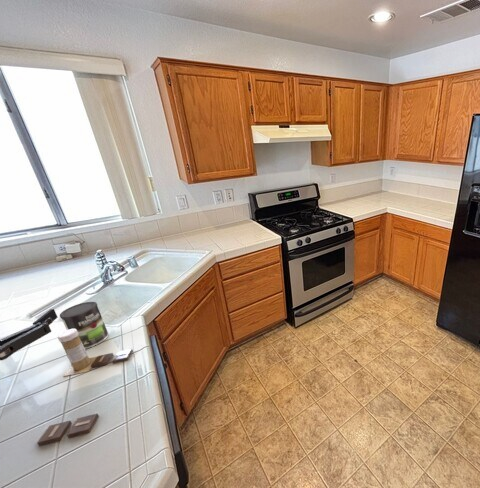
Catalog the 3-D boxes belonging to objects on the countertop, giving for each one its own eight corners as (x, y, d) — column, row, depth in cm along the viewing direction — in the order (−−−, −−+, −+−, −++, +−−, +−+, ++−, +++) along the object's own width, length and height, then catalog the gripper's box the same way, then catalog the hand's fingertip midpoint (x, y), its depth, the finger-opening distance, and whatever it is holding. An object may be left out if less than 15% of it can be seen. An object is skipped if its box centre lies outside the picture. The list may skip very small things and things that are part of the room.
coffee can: (115, 334, 103) (103, 303, 99) (85, 352, 94) (70, 319, 89) (98, 329, 107) (85, 299, 102) (67, 347, 97) (52, 314, 93)
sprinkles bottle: (75, 364, 89) (60, 331, 84) (92, 358, 90) (78, 326, 86) (71, 373, 85) (54, 339, 80) (89, 367, 87) (73, 334, 82)
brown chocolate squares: (38, 446, 63) (36, 442, 63) (51, 428, 67) (49, 425, 67) (89, 432, 66) (87, 428, 65) (99, 416, 70) (97, 412, 69)
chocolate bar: (63, 377, 84) (61, 373, 83) (76, 361, 90) (74, 358, 90) (126, 362, 88) (125, 359, 87) (134, 348, 94) (133, 345, 94)
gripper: (-142, 415, 48) (-31, 341, 67) (25, 378, 54) (83, 320, 74) (-170, 384, 46) (-46, 316, 65) (9, 349, 52) (73, 297, 71)
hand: (23, 318), depth 69 cm, fingers open, 13 cm apart
